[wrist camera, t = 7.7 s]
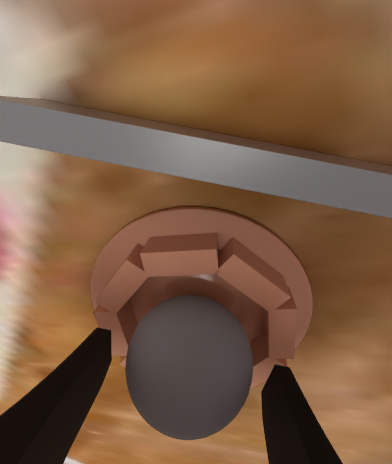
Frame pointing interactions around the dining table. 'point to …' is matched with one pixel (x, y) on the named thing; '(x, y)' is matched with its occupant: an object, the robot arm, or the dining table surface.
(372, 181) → the low wall
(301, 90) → the dining table surface
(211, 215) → the bowl
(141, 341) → the ball
